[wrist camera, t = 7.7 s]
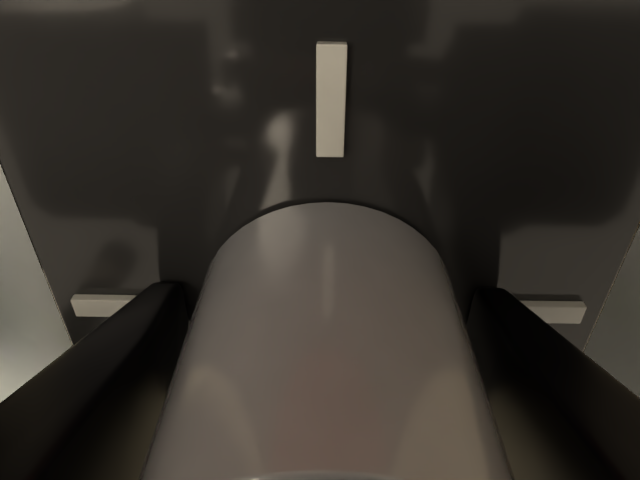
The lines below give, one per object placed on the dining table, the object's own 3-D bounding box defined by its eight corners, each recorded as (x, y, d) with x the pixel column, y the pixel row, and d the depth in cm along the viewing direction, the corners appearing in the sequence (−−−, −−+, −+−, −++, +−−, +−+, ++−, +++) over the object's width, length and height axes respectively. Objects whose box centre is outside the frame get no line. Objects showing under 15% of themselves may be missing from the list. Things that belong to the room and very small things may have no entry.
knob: (472, 201, 7) (625, 523, 3) (434, 389, 9) (501, 700, 6) (185, 200, 7) (33, 513, 3) (219, 386, 9) (150, 692, 6)
